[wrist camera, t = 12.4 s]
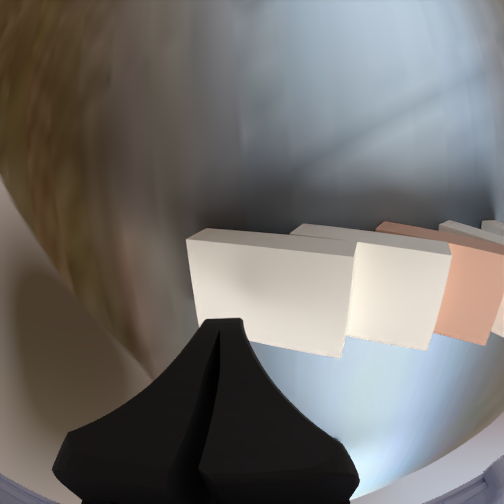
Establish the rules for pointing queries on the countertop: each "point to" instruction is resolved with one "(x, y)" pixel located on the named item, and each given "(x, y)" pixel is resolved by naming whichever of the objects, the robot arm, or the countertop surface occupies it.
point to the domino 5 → (493, 227)
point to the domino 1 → (276, 286)
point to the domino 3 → (464, 282)
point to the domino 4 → (500, 327)
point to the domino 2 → (392, 284)
